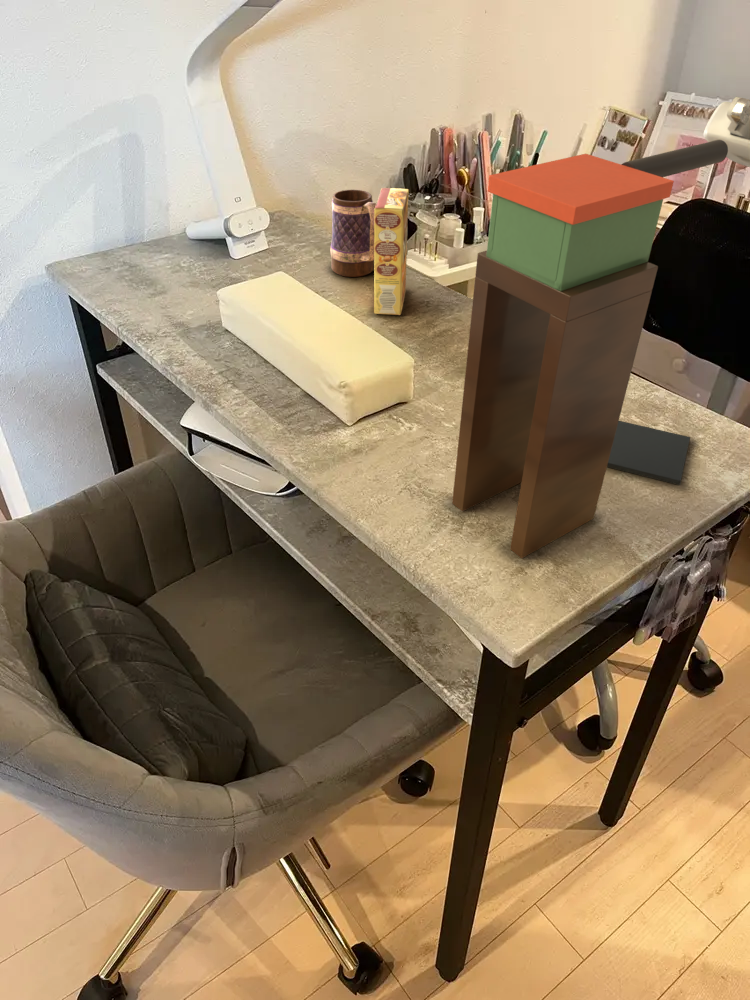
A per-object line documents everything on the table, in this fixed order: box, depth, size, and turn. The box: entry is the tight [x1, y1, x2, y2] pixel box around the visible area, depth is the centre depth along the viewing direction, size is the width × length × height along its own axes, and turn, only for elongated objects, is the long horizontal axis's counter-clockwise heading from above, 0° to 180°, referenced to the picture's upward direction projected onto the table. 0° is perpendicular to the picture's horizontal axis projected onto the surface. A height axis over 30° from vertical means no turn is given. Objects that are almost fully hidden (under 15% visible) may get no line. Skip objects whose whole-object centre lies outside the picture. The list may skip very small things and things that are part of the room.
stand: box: [451, 250, 659, 559], centre depth 69 cm, size 10×10×26 cm
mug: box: [330, 189, 377, 278], centre depth 119 cm, size 10×7×12 cm
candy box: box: [373, 187, 410, 316], centre depth 110 cm, size 9×4×15 cm, turn 174°
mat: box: [607, 420, 691, 486], centre depth 85 cm, size 10×9×1 cm
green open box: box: [486, 193, 664, 291], centre depth 59 cm, size 10×8×5 cm
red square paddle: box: [487, 140, 728, 225], centre depth 60 cm, size 23×9×2 cm, turn 126°
